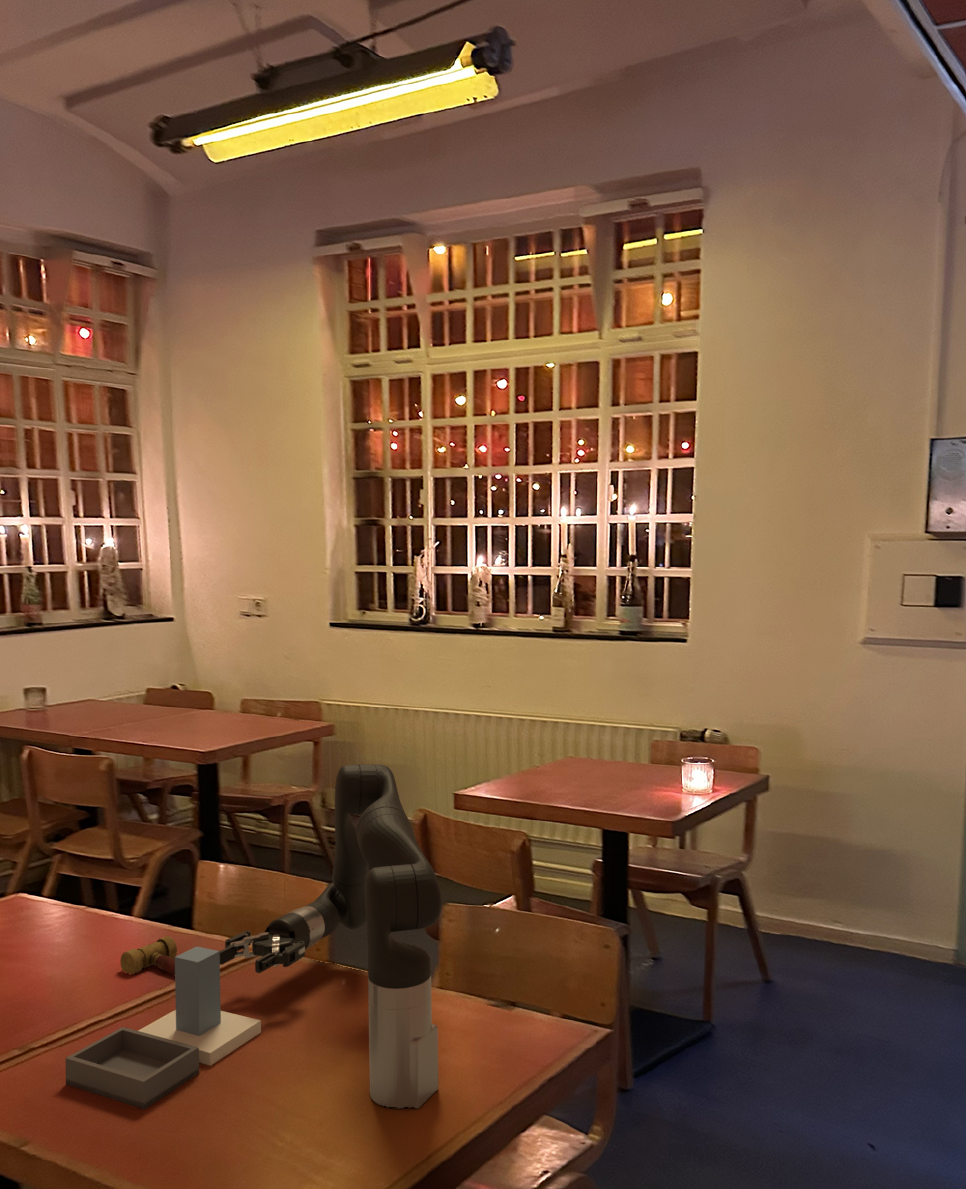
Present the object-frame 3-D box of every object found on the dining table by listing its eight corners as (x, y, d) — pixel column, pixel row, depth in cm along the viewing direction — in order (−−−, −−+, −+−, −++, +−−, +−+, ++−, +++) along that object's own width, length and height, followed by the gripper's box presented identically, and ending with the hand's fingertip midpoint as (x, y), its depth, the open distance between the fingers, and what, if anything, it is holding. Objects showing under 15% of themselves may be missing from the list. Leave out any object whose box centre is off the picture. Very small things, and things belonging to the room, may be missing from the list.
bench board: (260, 1032, 159) (260, 1020, 159) (210, 1065, 148) (210, 1052, 148) (188, 1014, 166) (188, 1002, 166) (135, 1044, 155) (135, 1032, 155)
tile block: (220, 1022, 158) (219, 951, 158) (199, 1036, 154) (198, 962, 153) (197, 1017, 160) (196, 946, 160) (176, 1029, 156) (174, 957, 156)
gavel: (232, 962, 181) (189, 981, 173) (232, 985, 181) (188, 1005, 173) (163, 933, 193) (119, 949, 185) (163, 955, 193) (119, 972, 185)
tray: (199, 1073, 146) (198, 1047, 146) (144, 1109, 136) (143, 1081, 136) (123, 1051, 153) (122, 1026, 153) (65, 1084, 143) (65, 1057, 143)
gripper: (265, 906, 183) (205, 935, 169) (326, 917, 177) (269, 948, 162) (266, 945, 183) (206, 977, 169) (326, 957, 177) (270, 992, 162)
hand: (237, 963), depth 165 cm, fingers open, 8 cm apart
